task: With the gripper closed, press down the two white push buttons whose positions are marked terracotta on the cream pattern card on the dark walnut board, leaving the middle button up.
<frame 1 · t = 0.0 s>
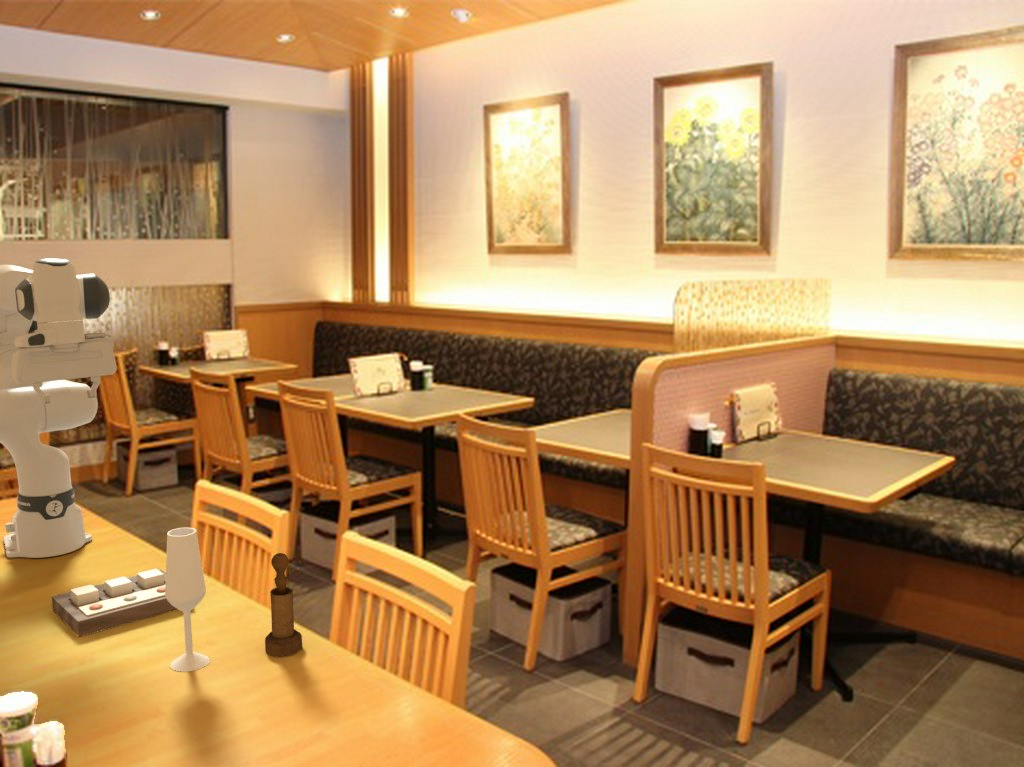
hand: (69, 400, 203), 39 cm above the table, tool pointing down, fingers open, 8 cm apart
button board: (123, 608, 192), on the table
button 2: (150, 580, 197), point 4 cm above the table, slide at 0.0 cm
button middle: (118, 588, 193), point 4 cm above the table, slide at 0.0 cm
button 1: (85, 597, 189), point 4 cm above the table, slide at 0.0 cm
champagne flute: (190, 663, 168), on the table
pattern card: (130, 600, 188), resting on button board
mortar and pestle: (283, 649, 174), on the table
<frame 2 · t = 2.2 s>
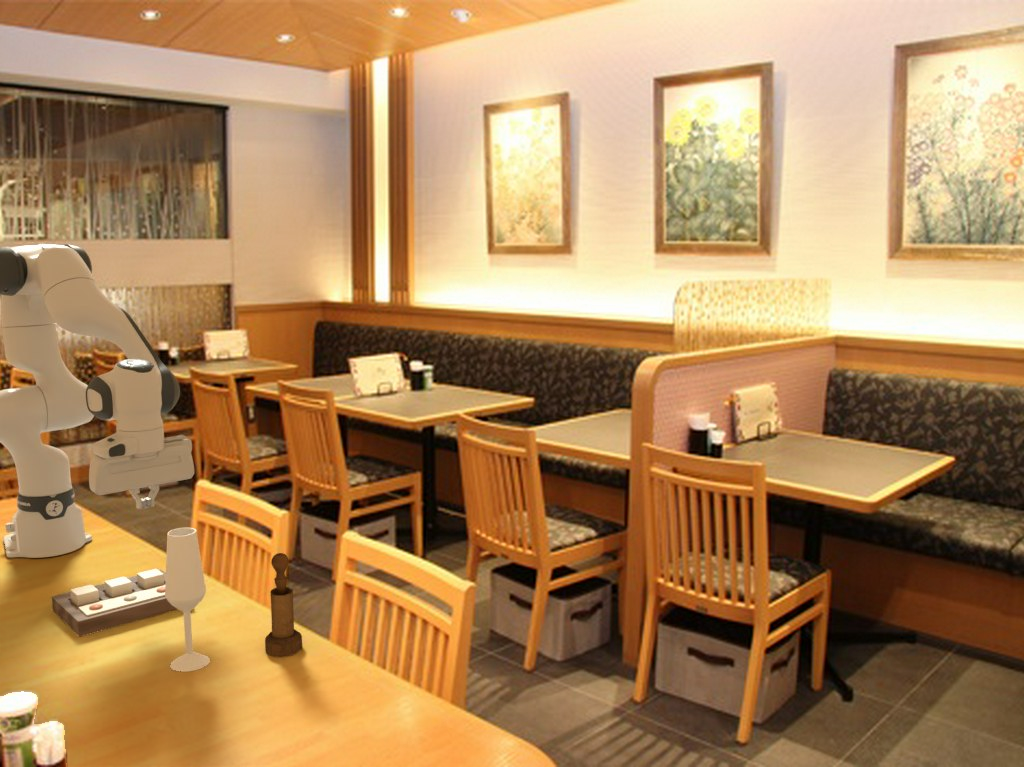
hand: (145, 507, 194), 19 cm above the table, tool pointing down, fingers closed
nothing on the table moved.
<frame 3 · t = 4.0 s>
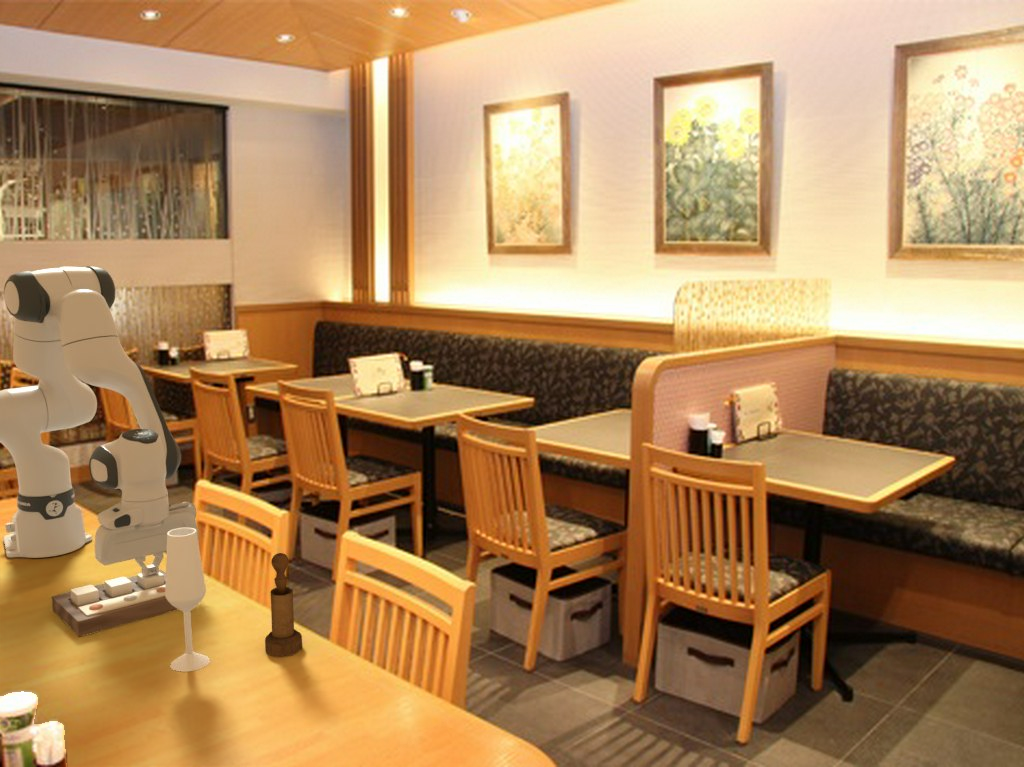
hand: (150, 574, 197), 5 cm above the table, tool pointing down, fingers closed, pressing on button 2
button 2: (150, 581, 197), point 3 cm above the table, slide at 0.2 cm, touching gripper
everything else where it was.
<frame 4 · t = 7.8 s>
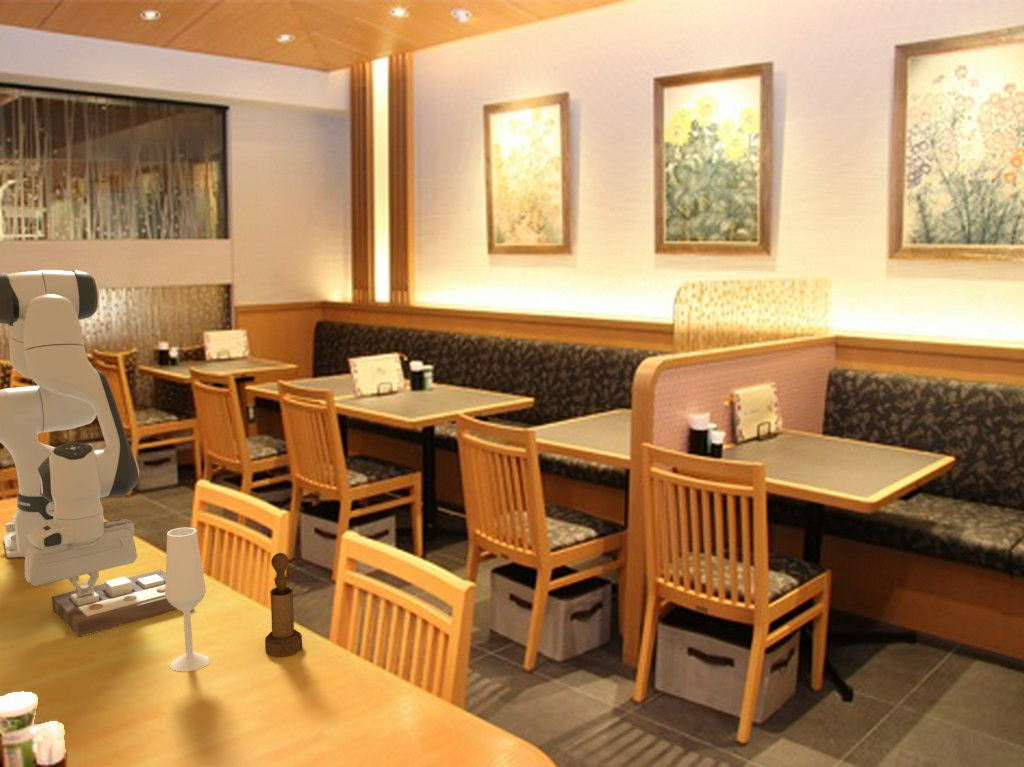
hand: (85, 594, 188), 4 cm above the table, tool pointing down, fingers closed, pressing on button 1
button 2: (151, 586, 197), point 2 cm above the table, slide at 1.3 cm
button 1: (85, 602, 189), point 2 cm above the table, slide at 1.1 cm, touching gripper
everything else where it was.
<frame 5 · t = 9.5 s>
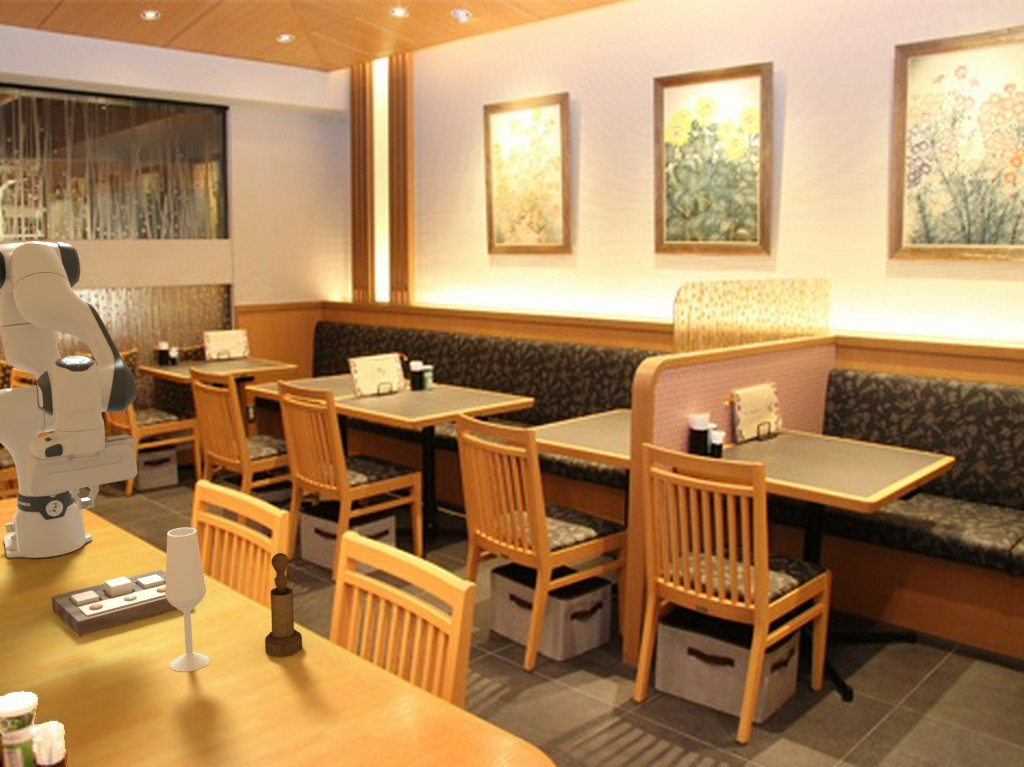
hand: (85, 507, 190), 20 cm above the table, tool pointing down, fingers closed
button 1: (85, 603, 189), point 2 cm above the table, slide at 1.3 cm
everything else where it was.
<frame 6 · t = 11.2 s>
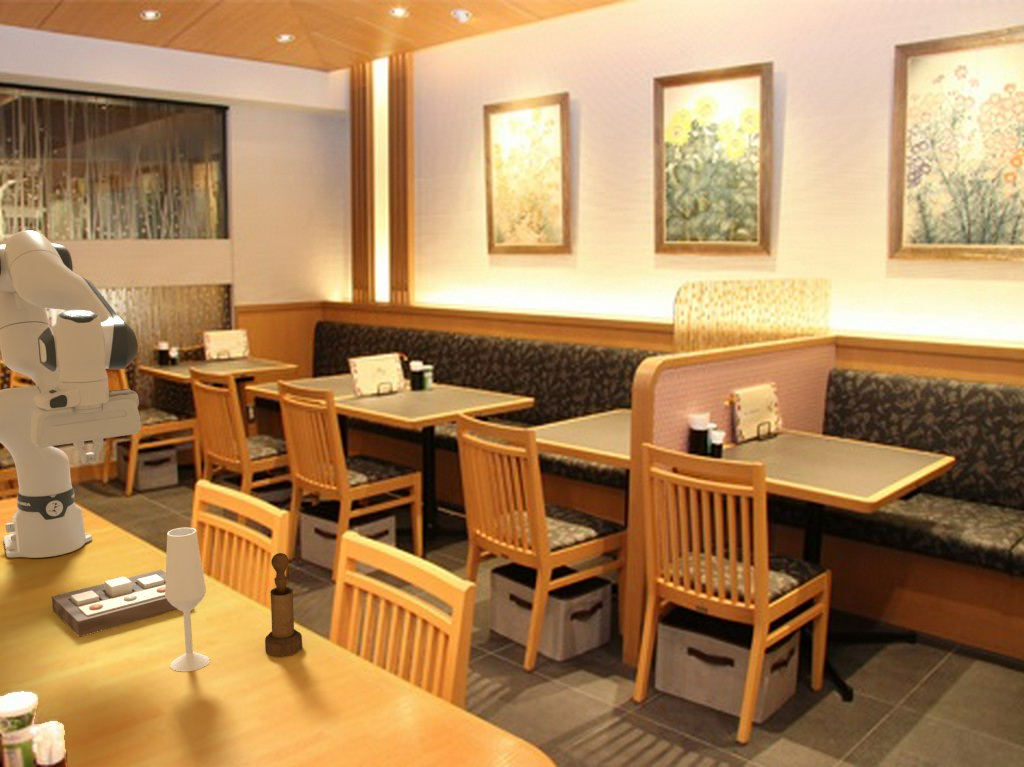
hand: (90, 462, 191), 29 cm above the table, tool pointing down, fingers closed
nothing on the table moved.
at the end: button 2 slide at 1.3 cm; button 1 slide at 1.3 cm; button middle slide at 0.0 cm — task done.
